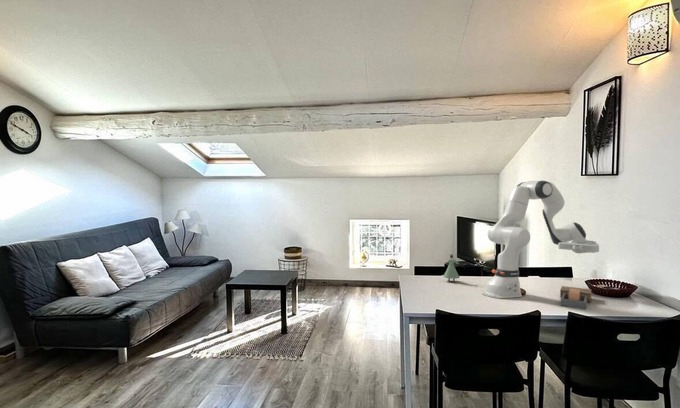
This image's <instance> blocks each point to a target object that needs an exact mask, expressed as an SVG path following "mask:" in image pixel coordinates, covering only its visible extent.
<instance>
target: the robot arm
mask: <svg viewBox="0 0 680 408" xmlns="http://www.w3.org/2000/svg"><path fill="white" fill-rule="evenodd" d="M509 194H510V195H509V196H508V199H507V202H506V205H505V208H504V211H503V213H502V216H501V217H500V219H499V220H498V221H497V222H496V223H495V224H494V225H492V226H491V227H489V229H488V231H487V237H488V240H489V241H490V242H493V243H495V244H497V245H505V247H504V250H503V251H501V252H500V253H498V255H497V268H496V269H494V268H493V269H492V270H491V272H492V273H493V274H494V276H492V277H491V279H490V280H488V282H486V284H485V290H481V294H482V295H484V296H488V297H490V298H494V299H511V298H512V299H513V298H522V297H523V295H522V293H521V284H520V283H521V282H520V280H519V279H520V278H519V276H520V269H519V263H520V262H519V258H520V254H521V252H522V250H523V249H524V248H525V247H526V246H527V245H528V244H530V241H531V234H530V232H529V230H528V229H526V228H522V227H520V226H516V225H517V224H519V223H521V222H522V221H523V220H524V219H525V216H526V212H527V210H528V209H527V208H528V205H529V201H530V200H540V201H541V202H542V203H543V209H542V210H541V211H542V216H543V220H544V222H545V224H546V227H547V231H548V233H549V236H550V240H551V242H552V243H553V244H554V245H556V246H558V247H557V248H558V250H568V251H572V252H573V253H575V254H586V253H591V254H592V253H593V254H594V253H599V252H600V245H599V243H597V241H593V240H588V239H586V237H587V234H586V231H585V229H584V227H583V226H582V225H581V224H579V223H578V222H570V223H569V224H568V223H567V224H566V225H564V226H562V227H558V228H556V227H555V225H554V221H553V218H555V216H556V215H558V213H560V212H561V211H562V209H563V208H564V206H565V198H564V197H563V194H562V193H561V191H560V190H559V189H558V188H557V187H556V185H555V184H553V183H552V182H551V181H546V180H529V181H524V182H519V184H517V185H516V186H515V187H513V189H512V190H511V192H510V193H509Z"/></svg>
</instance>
